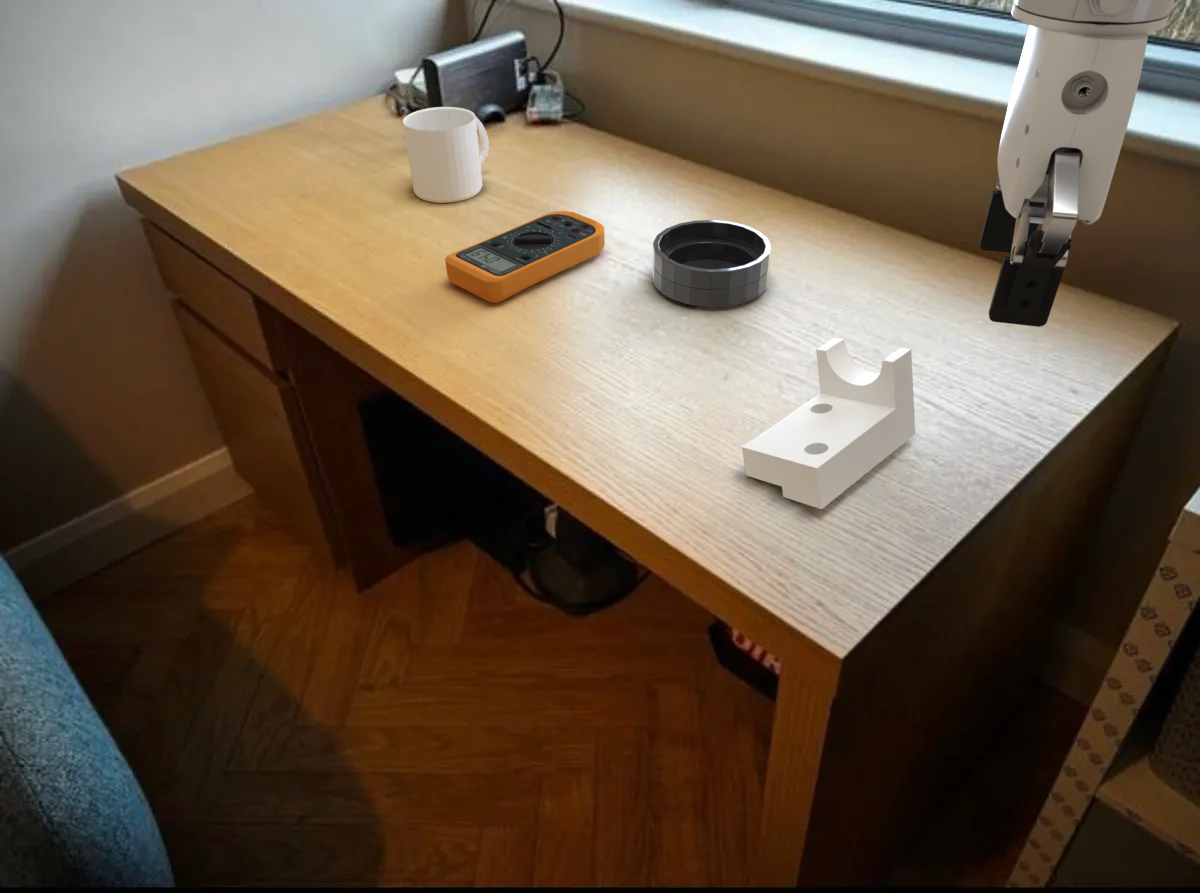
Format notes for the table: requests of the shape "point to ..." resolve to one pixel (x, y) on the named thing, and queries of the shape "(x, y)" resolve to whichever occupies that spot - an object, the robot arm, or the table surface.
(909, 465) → the table surface
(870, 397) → the bracket
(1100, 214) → the robot arm
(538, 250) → the multimeter
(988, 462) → the table surface
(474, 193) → the mug
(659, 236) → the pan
